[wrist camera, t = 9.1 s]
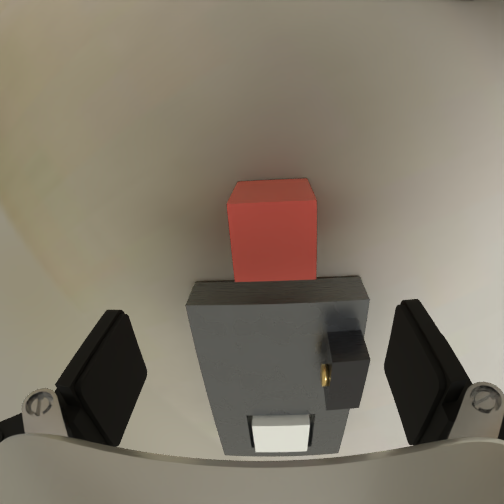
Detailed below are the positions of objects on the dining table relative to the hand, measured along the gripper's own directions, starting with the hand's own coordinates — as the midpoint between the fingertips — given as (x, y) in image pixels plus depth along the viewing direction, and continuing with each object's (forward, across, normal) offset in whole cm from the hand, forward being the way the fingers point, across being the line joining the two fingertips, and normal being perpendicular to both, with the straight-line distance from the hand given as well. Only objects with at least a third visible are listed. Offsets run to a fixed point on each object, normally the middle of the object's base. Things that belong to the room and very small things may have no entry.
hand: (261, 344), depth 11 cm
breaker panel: (+12, 0, +14) cm, 19 cm away
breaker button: (+12, -1, +19) cm, 22 cm away
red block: (+12, 0, -1) cm, 12 cm away
